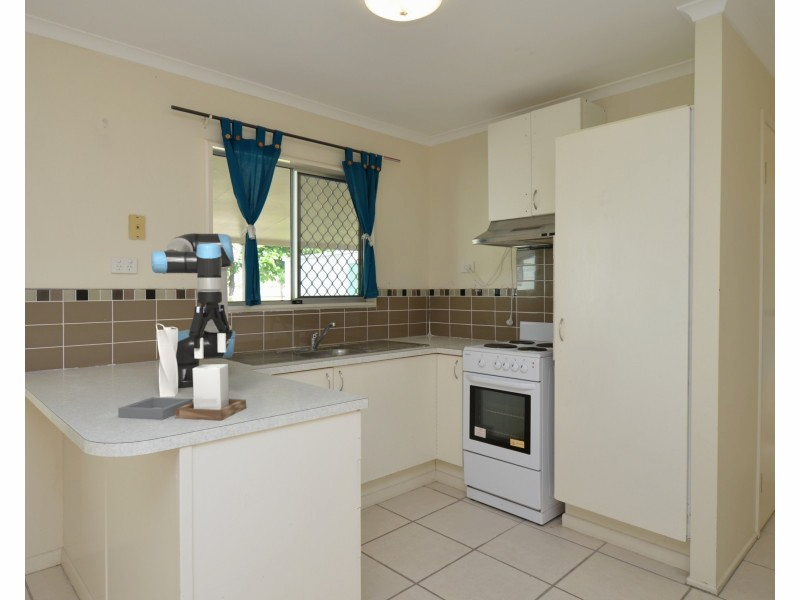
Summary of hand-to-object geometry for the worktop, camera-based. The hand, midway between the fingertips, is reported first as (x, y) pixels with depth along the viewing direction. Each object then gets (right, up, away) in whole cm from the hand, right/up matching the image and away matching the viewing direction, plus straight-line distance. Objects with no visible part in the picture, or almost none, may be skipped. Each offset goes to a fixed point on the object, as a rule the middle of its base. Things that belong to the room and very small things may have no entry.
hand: (210, 355), depth 168 cm
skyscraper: (-27, -19, +28) cm, 43 cm away
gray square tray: (-19, -19, +2) cm, 27 cm away
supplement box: (0, -19, 0) cm, 19 cm away
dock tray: (0, -19, 0) cm, 19 cm away
